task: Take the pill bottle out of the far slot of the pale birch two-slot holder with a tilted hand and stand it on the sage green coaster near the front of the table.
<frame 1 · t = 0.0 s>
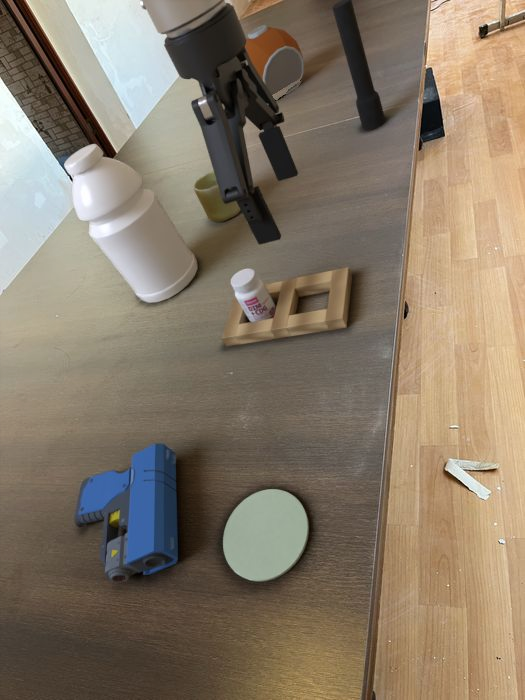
hand: (279, 206, 60), 19 cm above the table, tool pointing down, fingers open, 13 cm apart
holder: (289, 311, 77), on the table
stun gun: (132, 522, 62), on the table
flashlight: (374, 124, 108), on the table
mug: (235, 208, 108), on the table
coaster: (265, 533, 53), on the table
pill bottle: (265, 317, 79), resting in holder
alarm clock: (280, 92, 147), on the table
bottle: (169, 280, 99), on the table
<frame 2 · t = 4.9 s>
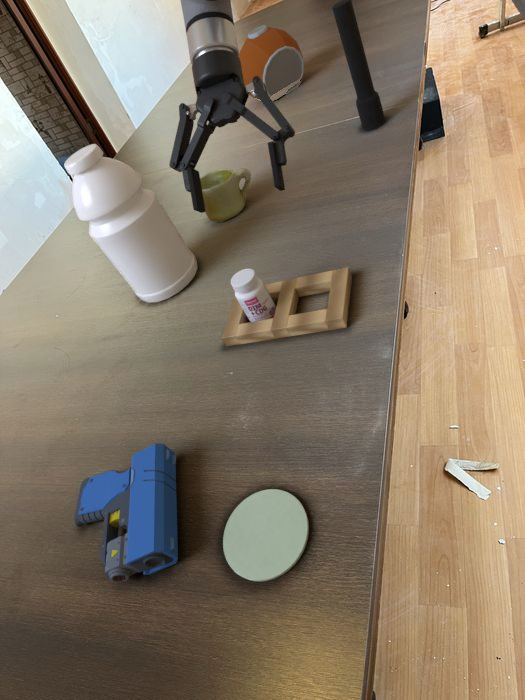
hand: (238, 200, 76), 15 cm above the table, tool tilted 45°, fingers open, 13 cm apart
nothing on the table moved.
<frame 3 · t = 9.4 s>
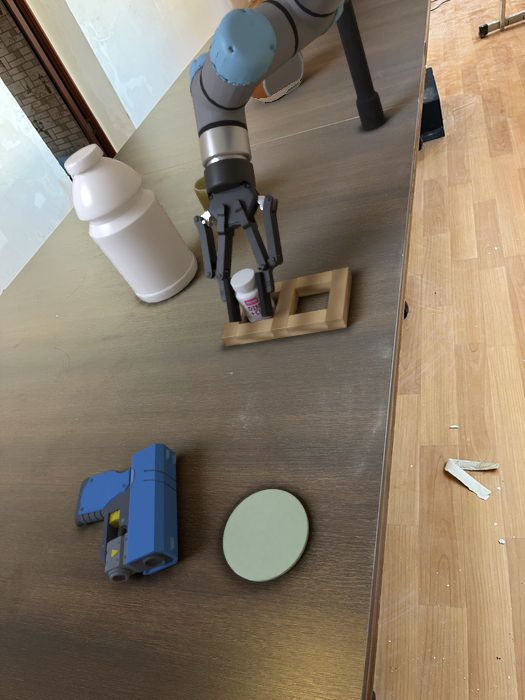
hand: (251, 318, 74), 3 cm above the table, tool tilted 45°, fingers closed on holder, pill bottle, 5 cm apart
pill bottle: (265, 317, 79), resting in holder, touching gripper
everything else where it was.
when the fingers open (4 cm above the table, at t = 19.2 s): pill bottle stays where it is, resting on coaster.
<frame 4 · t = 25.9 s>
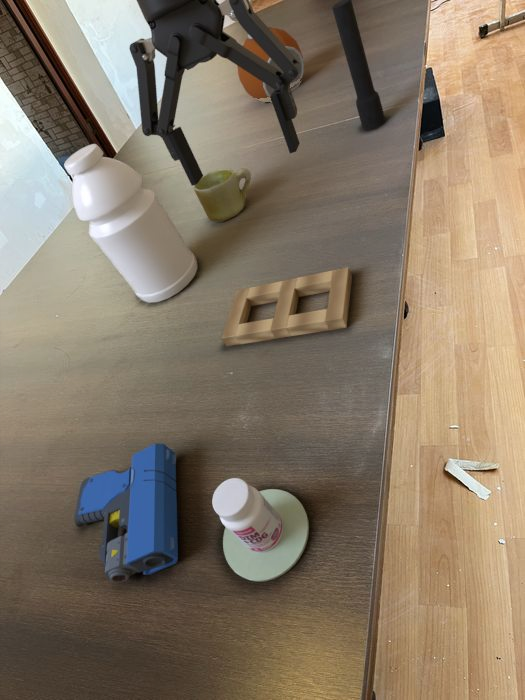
hand: (244, 165, 61), 24 cm above the table, tool pointing down, fingers open, 13 cm apart
pill bottle: (264, 532, 53), resting on coaster
everything else where it was.
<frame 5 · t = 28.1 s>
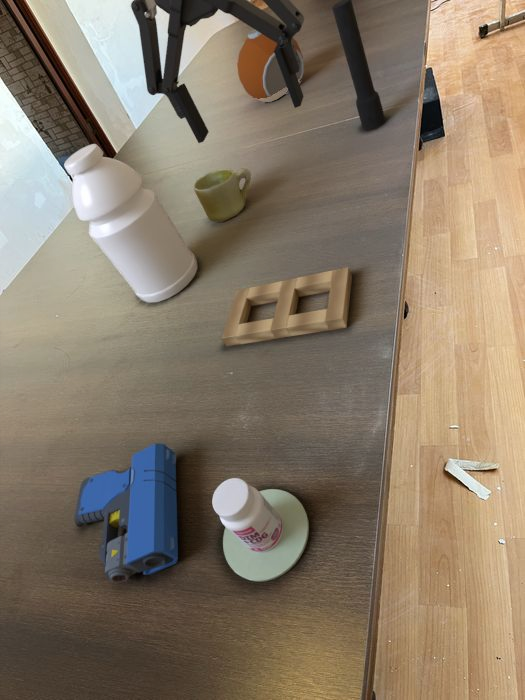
hand: (249, 120, 62), 27 cm above the table, tool pointing down, fingers open, 13 cm apart
nothing on the table moved.
at the end: pill bottle inside the target area on the coaster (0.0 cm from its centre), point 0.2 cm above the coaster's base; pill bottle tilted 0°; the gripper is holding nothing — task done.
